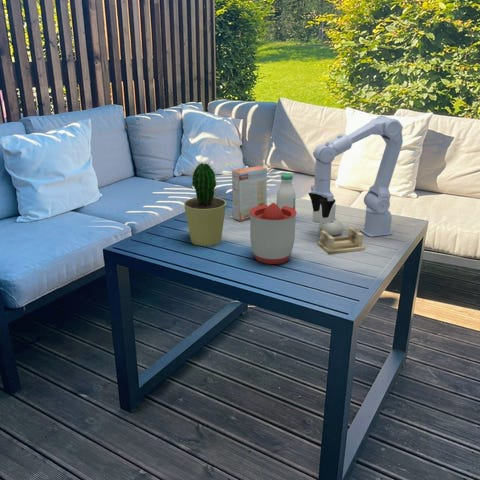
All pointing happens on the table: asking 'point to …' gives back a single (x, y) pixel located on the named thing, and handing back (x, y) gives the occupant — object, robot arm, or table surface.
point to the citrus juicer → (272, 233)
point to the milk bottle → (286, 192)
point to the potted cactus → (205, 208)
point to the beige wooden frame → (341, 242)
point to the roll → (331, 228)
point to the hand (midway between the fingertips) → (320, 214)
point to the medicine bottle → (318, 215)
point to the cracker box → (248, 190)
